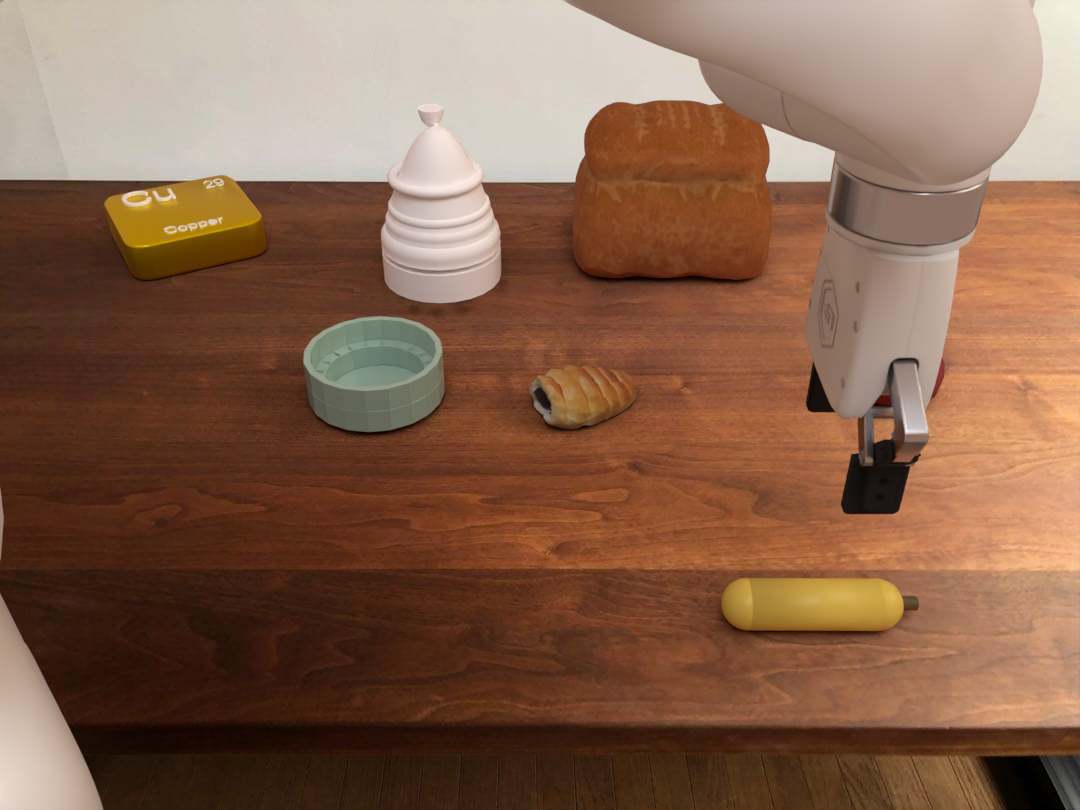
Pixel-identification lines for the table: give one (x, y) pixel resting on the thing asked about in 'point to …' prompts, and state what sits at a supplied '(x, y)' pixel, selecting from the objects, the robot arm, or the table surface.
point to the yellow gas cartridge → (814, 604)
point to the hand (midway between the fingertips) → (848, 457)
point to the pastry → (581, 395)
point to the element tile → (185, 227)
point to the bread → (672, 192)
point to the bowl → (374, 373)
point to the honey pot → (439, 221)
